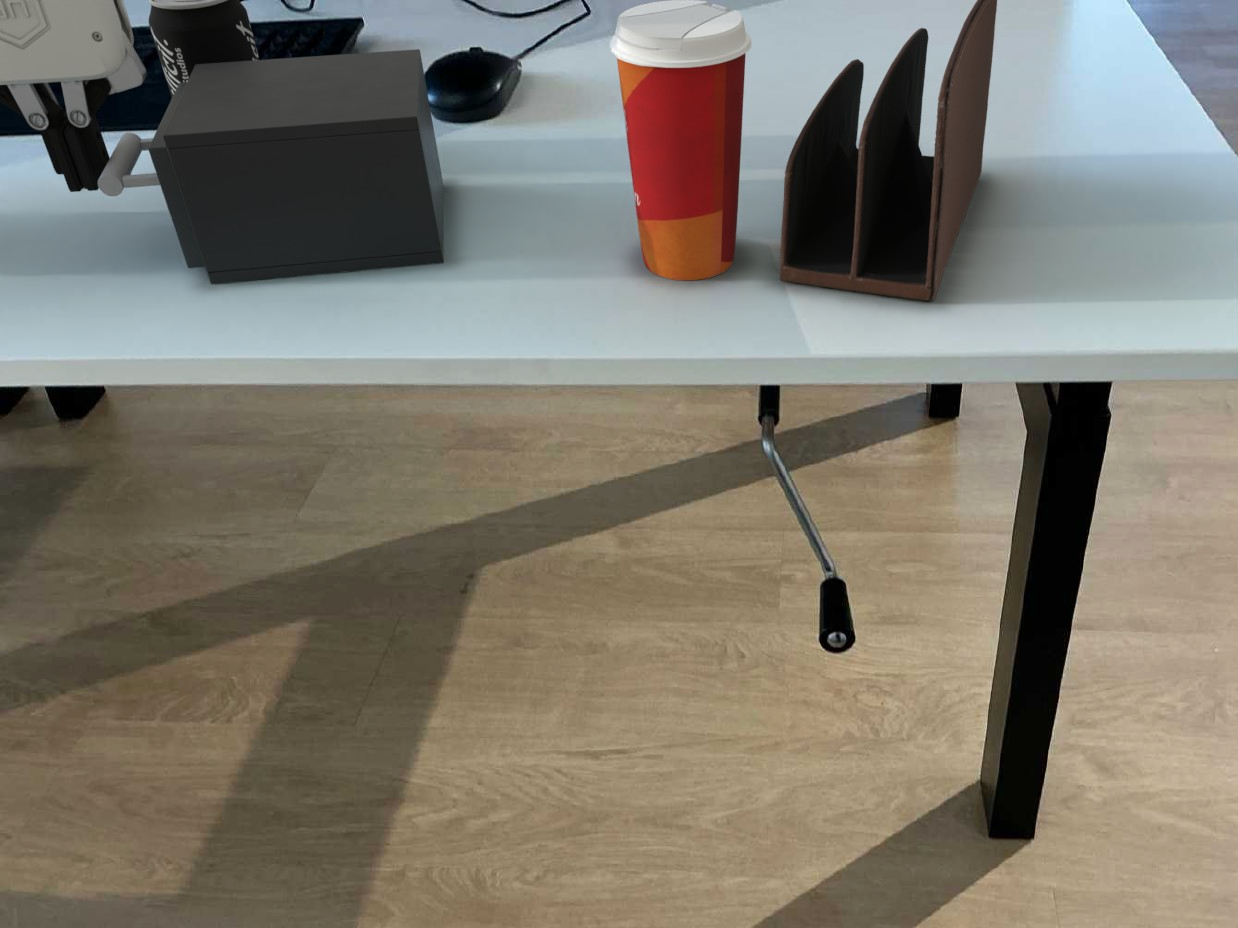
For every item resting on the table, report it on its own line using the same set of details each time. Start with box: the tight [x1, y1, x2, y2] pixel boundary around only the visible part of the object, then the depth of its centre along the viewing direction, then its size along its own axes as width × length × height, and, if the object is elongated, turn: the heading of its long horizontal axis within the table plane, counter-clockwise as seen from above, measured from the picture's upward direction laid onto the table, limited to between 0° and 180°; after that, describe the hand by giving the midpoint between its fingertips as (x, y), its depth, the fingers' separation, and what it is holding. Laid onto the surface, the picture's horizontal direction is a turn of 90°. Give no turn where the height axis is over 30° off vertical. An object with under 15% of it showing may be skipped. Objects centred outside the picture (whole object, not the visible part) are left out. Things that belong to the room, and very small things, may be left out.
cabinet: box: [163, 48, 445, 285], centre depth 79 cm, size 15×13×10 cm
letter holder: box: [778, 0, 998, 302], centre depth 77 cm, size 10×20×14 cm, turn 163°
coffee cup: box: [609, 0, 753, 281], centre depth 73 cm, size 8×8×15 cm
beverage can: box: [148, 0, 260, 99], centre depth 87 cm, size 7×7×12 cm
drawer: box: [98, 82, 205, 269], centre depth 78 cm, size 18×11×8 cm, turn 101°
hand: (89, 182), depth 77 cm, fingers closed
